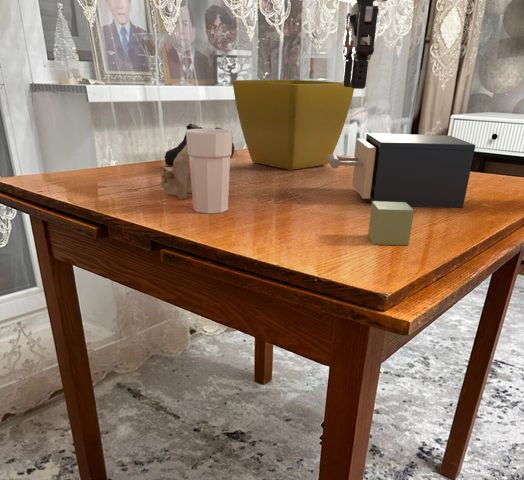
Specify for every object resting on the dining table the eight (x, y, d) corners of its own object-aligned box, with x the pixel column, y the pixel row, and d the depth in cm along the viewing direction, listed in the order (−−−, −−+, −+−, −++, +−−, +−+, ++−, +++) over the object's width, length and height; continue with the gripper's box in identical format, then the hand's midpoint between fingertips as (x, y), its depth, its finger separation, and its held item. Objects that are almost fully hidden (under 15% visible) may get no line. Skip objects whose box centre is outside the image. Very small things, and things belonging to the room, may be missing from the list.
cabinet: (373, 205, 87) (380, 142, 83) (360, 189, 98) (366, 133, 94) (463, 208, 87) (475, 144, 83) (440, 191, 98) (450, 135, 94)
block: (400, 235, 71) (405, 202, 69) (408, 245, 68) (414, 210, 66) (367, 234, 71) (371, 201, 69) (373, 244, 68) (378, 209, 65)
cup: (234, 205, 84) (234, 129, 79) (230, 215, 79) (230, 134, 73) (192, 203, 85) (189, 127, 79) (185, 213, 79) (181, 132, 74)
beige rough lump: (167, 177, 95) (191, 127, 89) (197, 199, 95) (223, 150, 89) (143, 190, 88) (167, 136, 82) (175, 213, 88) (202, 161, 82)
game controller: (231, 186, 110) (248, 139, 109) (207, 173, 105) (225, 123, 104) (183, 174, 121) (199, 131, 119) (160, 162, 115) (176, 116, 114)
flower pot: (289, 174, 110) (294, 82, 102) (230, 161, 122) (230, 78, 114) (349, 166, 121) (357, 83, 113) (289, 155, 134) (293, 79, 126)
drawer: (330, 197, 87) (334, 146, 83) (323, 184, 97) (326, 137, 93) (445, 201, 87) (455, 150, 84) (426, 187, 97) (434, 141, 94)
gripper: (404, -46, 71) (386, 90, 79) (383, -29, 84) (369, 87, 91) (347, -49, 71) (334, 88, 78) (334, -32, 83) (324, 85, 91)
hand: (353, 87), depth 85 cm, fingers open, 8 cm apart
